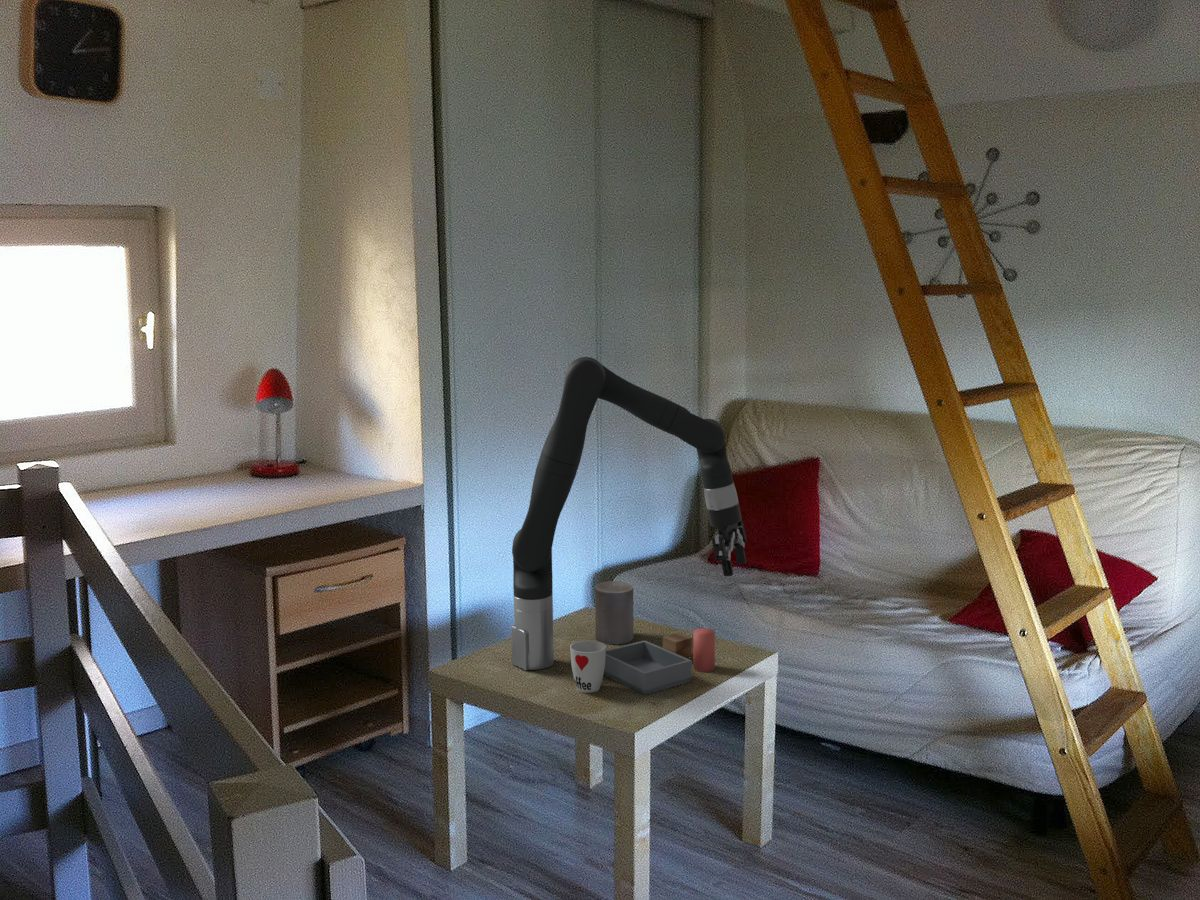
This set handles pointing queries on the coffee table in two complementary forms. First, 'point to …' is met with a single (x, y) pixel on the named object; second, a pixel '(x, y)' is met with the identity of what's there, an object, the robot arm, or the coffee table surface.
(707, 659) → the red capsule
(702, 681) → the coffee table surface
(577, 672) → the cup
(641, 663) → the tote
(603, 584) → the pillar candle
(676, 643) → the walnut cube
